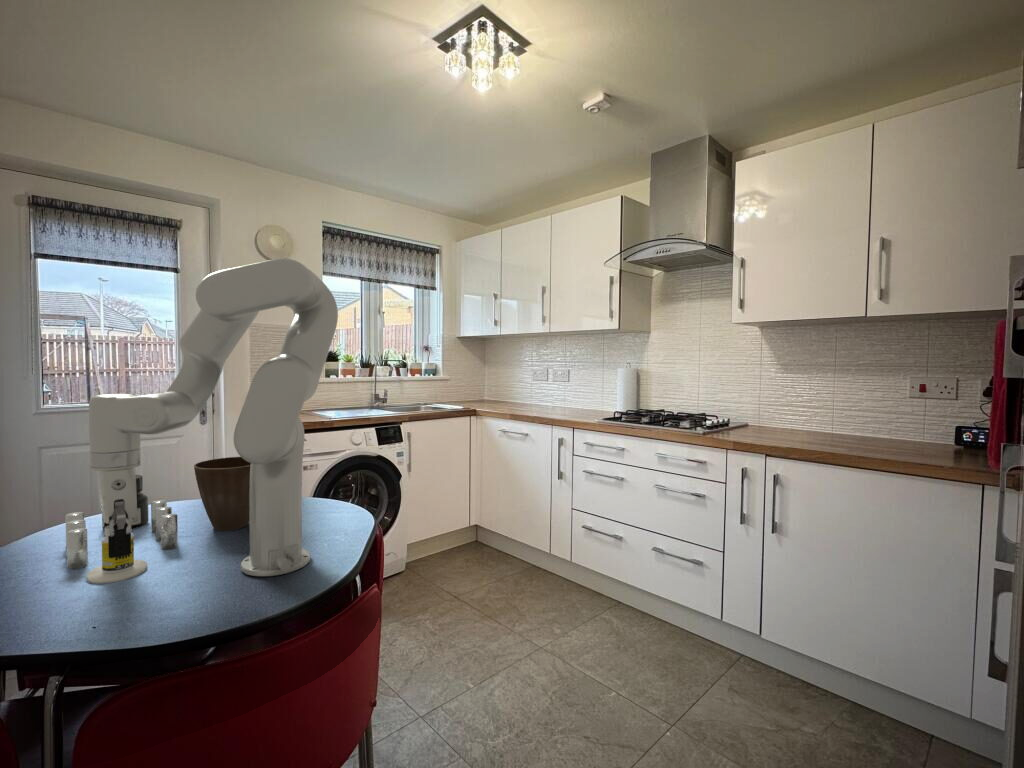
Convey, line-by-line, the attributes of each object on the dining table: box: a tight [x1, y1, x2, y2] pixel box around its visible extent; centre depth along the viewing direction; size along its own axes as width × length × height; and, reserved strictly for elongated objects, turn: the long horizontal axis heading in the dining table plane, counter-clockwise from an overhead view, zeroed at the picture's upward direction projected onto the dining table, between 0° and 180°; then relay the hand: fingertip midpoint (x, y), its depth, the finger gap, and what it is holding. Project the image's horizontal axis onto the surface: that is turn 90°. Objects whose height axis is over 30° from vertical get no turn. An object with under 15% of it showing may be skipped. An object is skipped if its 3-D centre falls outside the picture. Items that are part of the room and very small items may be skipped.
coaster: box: [86, 559, 148, 585], centre depth 95 cm, size 9×9×1 cm
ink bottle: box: [101, 474, 149, 531], centre depth 121 cm, size 10×9×12 cm
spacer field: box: [65, 499, 179, 570], centre depth 108 cm, size 17×18×7 cm
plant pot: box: [193, 456, 251, 532], centre depth 122 cm, size 15×15×16 cm
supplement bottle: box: [101, 523, 135, 574], centre depth 94 cm, size 5×5×8 cm
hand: (117, 548), depth 94 cm, fingers open, 9 cm apart
